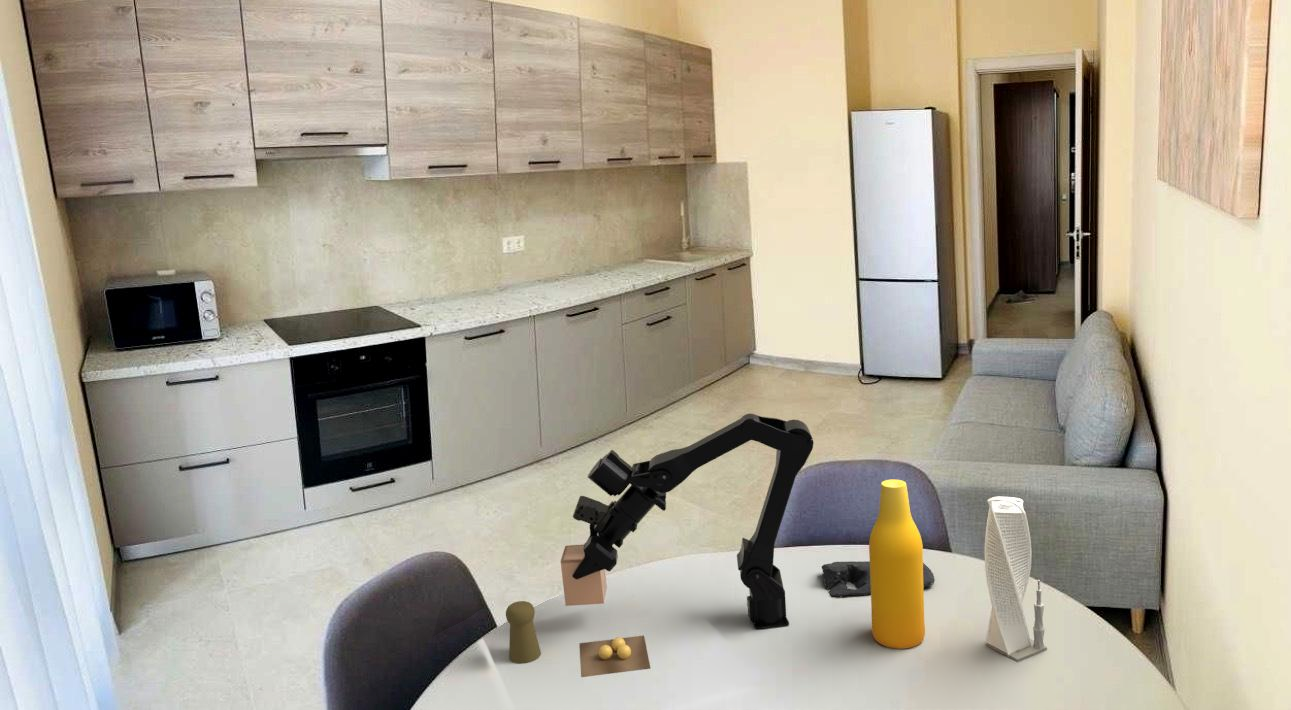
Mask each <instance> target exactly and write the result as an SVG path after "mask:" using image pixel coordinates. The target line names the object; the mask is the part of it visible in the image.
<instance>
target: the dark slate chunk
mask: <svg viewBox="0 0 1291 710" xmlns="http://www.w3.org/2000/svg"><path fill="white" fill-rule="evenodd" d="M821 570H822V577H823V583H824V587H825V589H827V591H828V593H830V596H833V597H834V598H843V597H845V596H847V597H848V596H850V597H851V596H852V597H853V596H854V597H855V596H856V597H857V596H865V595H866V596H867V595H868V596H871V583H870V560H869V561H866V560H864V561H851V560H850V561H834V562H832V563H827V564H823V565H822V566H821ZM848 583H854V584H855V585H854V586H855V589H854V588H848ZM934 583H935V575H934V573H933V572H932V569H930V568H929V567H928V566H927V565H926V563H925V562H923V588H926V587H930V586H931V587H932V586H933V585H934Z"/></svg>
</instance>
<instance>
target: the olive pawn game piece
mask: <svg viewBox="0 0 1291 710" xmlns="http://www.w3.org/2000/svg"><path fill="white" fill-rule="evenodd" d="M535 615H536V611H535V607H534V605H533V604H532V603H531V602H530V601H525V600H519V601H516V602H515V601H514V602H513V603H510V604H509V605H508V606H507V608H506V610H505V618H506V621H507V623H508V624H509V647H508V658H509V661H511V663H515V664H521V665H522V664H529V663H532V662H535V661H536V660H538V659H539V658H540V657H541V655H542V652H541V648H540V644H539V641H538V636H537V633H536V629H535V624H534V619H535Z"/></svg>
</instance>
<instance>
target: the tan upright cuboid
mask: <svg viewBox="0 0 1291 710" xmlns="http://www.w3.org/2000/svg"><path fill="white" fill-rule="evenodd" d="M584 545H585V543H584V544H571V545H564V548H563V551H562V555H561V559H560V568H561V577H562V586H563V594H564V596H563V597H564V603H565V604H564V605H565V607H570V606H584V605H585V606H586V605H600V604H605V599H606V595H607V594H606V593H607V588H608V585H607V575H606V569H604V570H601V571H598V572H595V573H592V574H590V575H587V576H585V577H582V578H580V579H577V580H576V579H575V578H573V574H574V572H575V570H576V569H577V567H578V565H579V564H580V562H581V560H582V559H583V557H584V556H585V554H584V550H583V548H584Z"/></svg>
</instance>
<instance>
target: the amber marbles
mask: <svg viewBox="0 0 1291 710" xmlns="http://www.w3.org/2000/svg"><path fill="white" fill-rule="evenodd" d="M622 638H623V637H615V638H613V639H614V640H613V641H612V648H613V649H614V650H615V651H617V654H618V656H619V658H621V659H627V658H629V657H630V655H631V649H630V647H629V646H627V645H626V644H625V641H624V639H622ZM612 648H611V647H610V646H608V645H603V646H601V647H600V649H599V656H600V657H601V658H602V659H604V660H607V659H609V658H610V657H611V656H612V653H613V651H612Z"/></svg>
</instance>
